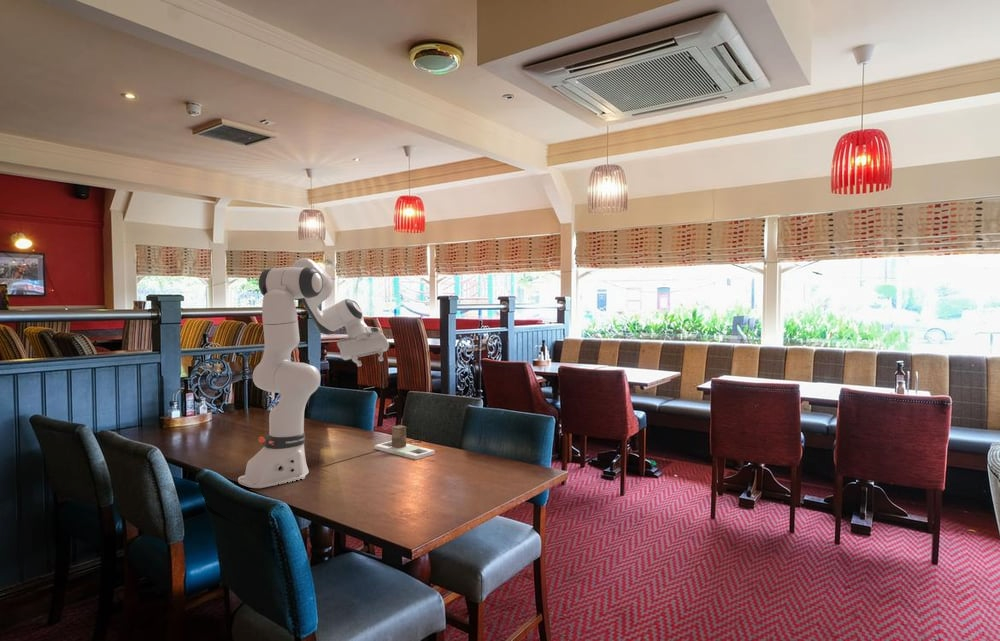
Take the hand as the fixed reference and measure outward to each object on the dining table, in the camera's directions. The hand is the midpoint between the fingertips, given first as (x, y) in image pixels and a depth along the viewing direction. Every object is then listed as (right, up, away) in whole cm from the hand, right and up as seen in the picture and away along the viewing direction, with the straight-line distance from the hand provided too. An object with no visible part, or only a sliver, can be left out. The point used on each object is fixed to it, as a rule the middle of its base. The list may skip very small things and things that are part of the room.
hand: (370, 363), depth 231 cm
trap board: (+15, -34, -9) cm, 39 cm away
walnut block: (+13, -33, -7) cm, 36 cm away
